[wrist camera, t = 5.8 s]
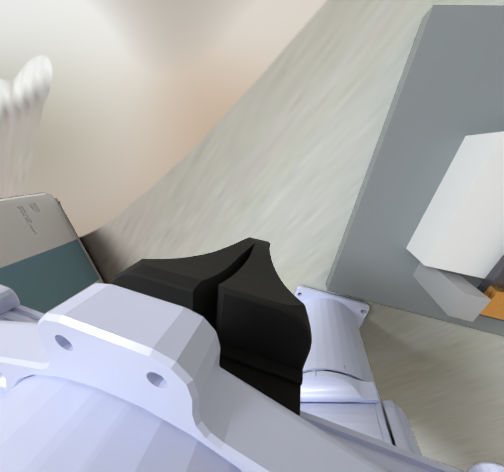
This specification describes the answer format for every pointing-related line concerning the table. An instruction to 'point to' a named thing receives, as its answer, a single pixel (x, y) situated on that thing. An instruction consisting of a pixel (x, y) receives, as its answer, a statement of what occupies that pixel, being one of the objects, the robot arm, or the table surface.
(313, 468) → the robot arm
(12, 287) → the stereo radio cassette player
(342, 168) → the table surface
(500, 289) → the clamp bar
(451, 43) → the board
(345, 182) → the table surface
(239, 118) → the table surface
